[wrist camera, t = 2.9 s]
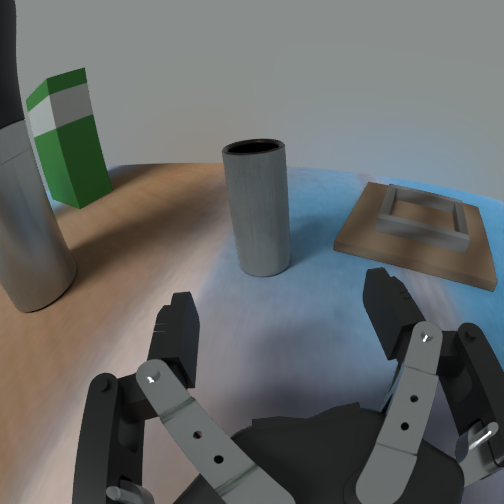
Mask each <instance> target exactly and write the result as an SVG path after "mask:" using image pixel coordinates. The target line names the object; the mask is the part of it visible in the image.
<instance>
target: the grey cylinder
mask: <svg viewBox="0 0 504 504" xmlns="http://www.w3.org/2000/svg"><path fill="white" fill-rule="evenodd" d="M222 156H223V163H224V169H225V176H226V183H227V189H228V196H229V203H230V209H231V216H232V222H233V228H234V235H235V241H236V247H237V254H238V260H239V264H240V267H241V269H242V270H243V271H244V272H246V273H247V274H250V275H252V276H258V277H267V276H273V275H276V274H279V273H280V272H282V271H284V270H285V269H286V268H287V267H288V265H289V264H290V228H289V206H288V186H287V169H286V154H285V144H284V143H283V142H281V141H279V140H274V139H251V140H244V141H239V142H235V143H232V144H229V145H227V146H225V147H224V148H223V150H222Z"/></svg>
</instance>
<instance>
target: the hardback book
mask: <svg viewBox="0 0 504 504" xmlns="http://www.w3.org/2000/svg"><path fill="white" fill-rule="evenodd" d="M26 104H27V109H28V114H29V119H30V123H31V128H32V132H33V136H34V140H35V144H36V148H37V151H38V155H39V158H40V161H41V165H42V168H43V172H44V175H45V178H46V181H47V184H48V187H49V190H50V193H51V196H52V198H53V200H56V201H59V202H62V203H65V204H67V205H70V206H73V207H76V208H78V209H81V208H83V207H85V206H87V205H88V204H90V203H92V202H93V201H95V200H97V199H99V198H101V197H102V196H104V195H106V194H108V193H110V192H111V191H113V190H112V186H111V183H110V179H109V176H108V172H107V169H106V165H105V162H104V158H103V154H102V150H101V146H100V142H99V138H98V134H97V130H96V125H95V120H94V116H93V111H92V106H91V101H90V97H89V90H88V85H87V79H86V72H85V68H82V69H77V70H74V71H70V72H67V73H64V74H60V75H57V76H53V77H50V78H47V79H46V80H45V81H44V82H43V83H42V84H41V85H40V86H39V87H38V88H37V89H36V90H35V91H34V92H33V93H32V94H31V95H30V96H29V97H28V98H27V99H26Z"/></svg>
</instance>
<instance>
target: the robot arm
mask: <svg viewBox="0 0 504 504" xmlns="http://www.w3.org/2000/svg"><path fill="white" fill-rule="evenodd" d="M24 119H25V118H24V113H23V108H22V103H21V97H20V91H19V84H18V76H17V65H16V6H15V1H14V0H0V283H1V285H2V286H3V288H4V290H5V291H6V293H7V294H8V296H9V298H10V299H11V301H12V302H13V304H14V305H15V307H16V308H17V309H18V310H19V311H22V312H31V311H35V310H38V309H40V308H43V307H45V306H46V305H48V304H50V303H51V302H53V301H54V300H55V299H57V298H58V297H59V296H60V295H61V294H62V293H63V292H64V291H65V290H66V289H67V288H68V287H69V286H70V284H71V283H72V281H73V280H74V277H75V275H76V271H77V267H76V264H75V262H74V260H73V258H72V255H71V253H70V251H69V249H68V247H67V244H66V242H65V240H64V238H63V235H62V233H61V230H60V228H59V225H58V223H57V221H56V218H55V215H54V213H53V210H52V208H51V205H50V202H49V200H48V197H47V194H46V191H45V189H44V185H43V182H42V179H41V176H40V173H39V170H38V167H37V164H36V160H35V157H34V154H33V150H32V146H31V143H30V139H29V135H28V131H27V127H26V122H25V120H24ZM363 304H364V307H365V309H366V312H367V314H368V316H369V318H370V320H371V322H372V325H373V327H374V329H375V331H376V334H377V336H378V338H379V341H380V343H381V345H382V348H383V350H384V352H385V355H386V357H387V359H388V361H389V360H393V359H397V362H398V364H397V366H396V369H395V372H394V375H393V378H392V381H391V383H390V386H389V389H388V391H387V394H386V397H385V399H384V401H383V403H382V405H381V407H380V409H379V411H376V410H372V409H366V408H360V405H359V402H356V403H352V404H347V405H343V406H338V407H334V408H331V409H329V410H327V411H325V412H322V413H320V414H318V415H316V416H313V417H311V418H307V419H304V418H290V417H270V418H261V419H252V426H250V427H247V428H245V429H242V430H241V431H239V432H237V433H236V434H234V435H233V436H232V437H230V438H229V437H228V436H227V434H226V433H225V432H224V431H223V430H222V429H221V428H220V427H219V426H218V425H217V424H216V422H215V421H214V420H213V419H212V418H211V417H210V416H209V415H208V413H207V412H206V411H205V410H204V409H203V408H202V406H201V405H200V404H199V403H198V402H197V401H196V400H195V399H194V398H193V397H192V396H191V395H190V394H189V393H188V391H187V388H195V380H196V367H197V354H198V342H199V331H200V322H199V316H198V313H197V310H196V307H195V304H194V301H193V298H192V295H191V293H190V292H181V293H174V294H173V296H172V300H171V305H164V306H163V307H162V309H161V310H160V311H159V313H158V314H157V318H156V323H155V324H156V325H155V327H154V333H153V336H152V340H151V345H150V349H149V354H148V358H147V361H146V362H144V363H143V364H142V365H141V366H140V367H139V368H138V370H137V372H136V373H134V374H132V375H129V376H125V377H122V378H118V379H117V378H116V377H115V376H114V375H113V374H110V373H102V374H99V375H97V376H96V377H95V378H94V379H93V380H92V381H91V383H90V386H89V390H88V395H87V399H86V404H85V409H84V414H83V419H82V424H81V430H80V436H79V442H78V449H77V456H76V464H75V473H74V483H73V495H72V504H155V502H154V498H153V496H152V494H151V493H150V492H149V491H148V490H147V489H145V488H143V487H142V462H143V441H144V426H145V420H147V419H151V418H155V417H158V416H159V417H160V420H161V422H162V423H163V425H164V426H165V428H166V429H167V431H168V432H169V434H170V435H171V436H172V438H173V439H174V440H175V442H176V443H177V444H178V446H179V447H180V448H181V450H182V451H183V452H184V454H185V455H186V456H187V457H188V459H189V460H190V461H191V462H192V464H193V465H194V466H195V467H196V469H197V470H198V471H199V472H200V474H199V475H198V476H197V477H196V478H195V480H194V481H193V482H192V483H191V484H190V485H189V486H188V487H187V489H186V490H185V491H184V492H183V493H182V494H181V495H180V496H179V497H178V498H177V500H176V501H175V502H174V503H173V504H461V498H462V494H463V490H464V487H466V486H468V485H470V484H472V483H474V482H476V481H478V480H482V479H484V478H486V477H488V476H490V475H492V474H494V473H496V472H498V471H500V470H502V469H504V372H503V370H502V367H501V365H500V363H499V361H498V360H497V358H496V356H495V354H494V352H493V350H492V348H491V346H490V344H489V343H488V341H487V339H486V337H485V335H484V334H483V332H482V330H481V329H480V328H479V327H478V326H477V325H475V324H473V323H463V324H462V325H461V326H460V327H459V329H458V331H441V329H440V328H439V327H438V326H437V325H436V324H434V323H432V322H428V321H426V320H425V318H424V316H423V315H422V313H421V311H420V310H419V308H418V306H417V305H416V303H415V301H414V300H413V298H412V297H411V295H410V293H409V292H408V290H407V289H406V287H405V286H404V284H403V283H402V282H401V281H400V280H398V279H397V278H396V277H395V276H393V277H390V276H389V274H388V273H387V271H386V270H385V268H383V267H380V268H374V269H368V270H367V273H366V278H365V284H364V290H363ZM466 369H467V370H466ZM438 377H439V380H440V382H441V385H442V388H443V390H444V393H445V396H446V398H447V401H448V404H449V407H450V409H451V412H452V415H453V418H454V421H455V424H456V427H457V430H458V434H459V438H458V440H457V442H456V450H455V456H456V459H453V458H452V457H450V456H448V455H447V454H445V453H444V452H442V451H440V450H439V449H437V448H436V447H434V446H432V445H431V444H429V443H428V442H426V441H425V440H423V439H422V437H423V434H424V431H425V427H426V424H427V421H428V418H429V414H430V411H431V407H432V404H433V400H434V396H435V392H436V388H437V383H438ZM470 378H471V379H470Z"/></svg>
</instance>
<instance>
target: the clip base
mask: <svg viewBox="0 0 504 504" xmlns="http://www.w3.org/2000/svg"><path fill="white" fill-rule="evenodd" d="M334 250H335V251H340V252H344V253H348V254H352V255H356V256H360V257H364V258H368V259H372V260H376V261H380V262H384V263H388V264H392V265H396V266H400V267H404V268H407V269H411V270H415V271H419V272H423V273H427V274H430V275H434V276H438V277H442V278H445V279H449V280H453V281H457V282H460V283H464V284H468V285H471V286H475V287H478V288H482V289H486V290H489V291H494V289H495V287H496V284H497V279H496V274H495V269H494V264H493V260H492V255H491V251H490V247H489V243H488V239H487V236H486V232H485V228H484V225H483V222H482V218H481V215H480V212H479V209H478V207H476V206H472V205H469V204H465V203H462V201H461V200H458V199H454V198H450V197H446V196H442V195H438V194H434V193H430V192H426V191H421V190H417V189H412V188H408V187H403V186H398V185H393V184H389V186H388V185H383V184H378V183H372V182H368V184H367V186H366V187H365V189H364V191H363V193H362V194H361V196H360V198H359V200H358V201H357V203H356V205H355V207H354V208H353V210H352V212H351V213H350V215H349V217H348V219H347V220H346V222H345V224H344V225H343V227H342V229H341V230H340V232H339V234H338V235H337V237H336V239H335V240H334Z"/></svg>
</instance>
